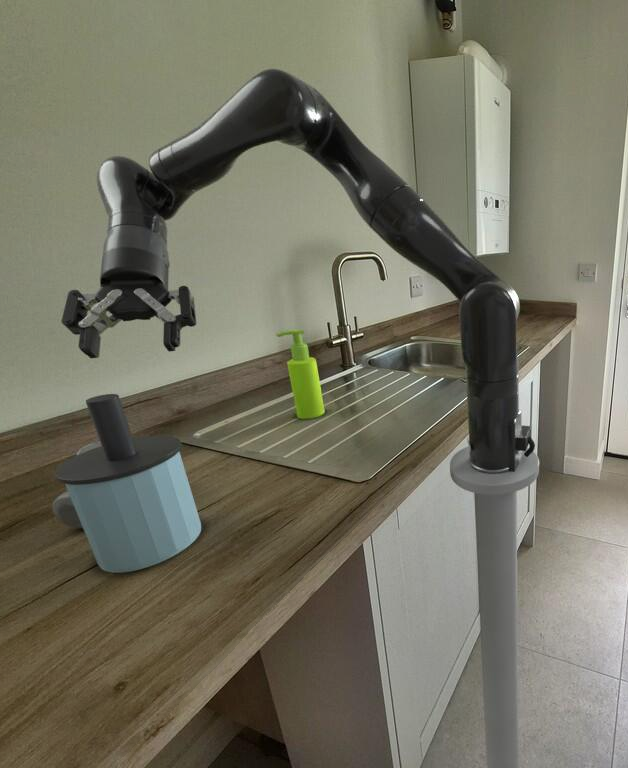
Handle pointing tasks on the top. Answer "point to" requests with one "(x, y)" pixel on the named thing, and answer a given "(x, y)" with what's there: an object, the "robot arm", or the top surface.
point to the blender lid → (115, 447)
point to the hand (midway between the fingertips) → (131, 351)
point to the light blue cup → (138, 516)
